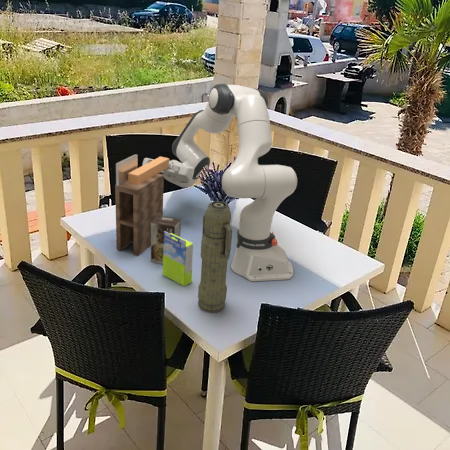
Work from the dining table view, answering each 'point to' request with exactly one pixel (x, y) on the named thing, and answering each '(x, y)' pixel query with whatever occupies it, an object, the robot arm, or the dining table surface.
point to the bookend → (125, 169)
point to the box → (177, 258)
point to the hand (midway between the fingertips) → (159, 163)
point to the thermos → (215, 257)
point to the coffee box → (162, 235)
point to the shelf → (137, 212)
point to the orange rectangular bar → (148, 170)
